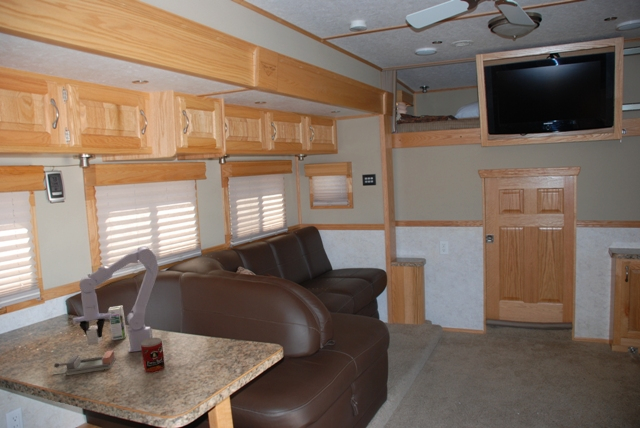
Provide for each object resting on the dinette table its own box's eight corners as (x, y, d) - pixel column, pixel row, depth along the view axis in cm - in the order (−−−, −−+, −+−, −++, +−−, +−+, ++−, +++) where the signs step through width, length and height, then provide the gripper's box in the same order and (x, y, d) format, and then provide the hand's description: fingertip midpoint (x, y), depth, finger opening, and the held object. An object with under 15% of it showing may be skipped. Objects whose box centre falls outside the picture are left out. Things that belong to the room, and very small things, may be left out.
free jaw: (114, 357, 207) (113, 350, 206) (110, 364, 199) (109, 357, 199) (106, 358, 206) (105, 351, 206) (102, 365, 199) (101, 358, 198)
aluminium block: (102, 338, 214) (100, 324, 213) (98, 343, 207) (96, 329, 206) (92, 339, 213) (90, 325, 213) (88, 345, 206) (86, 331, 206)
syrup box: (112, 340, 231) (107, 310, 230) (114, 336, 237) (109, 306, 235) (125, 338, 233) (121, 308, 231) (126, 334, 238) (122, 304, 237)
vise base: (115, 358, 208) (114, 349, 208) (109, 368, 198) (108, 358, 198) (59, 367, 204) (58, 357, 204) (50, 377, 194) (49, 367, 194)
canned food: (146, 374, 189) (142, 346, 188) (142, 367, 196) (139, 340, 195) (166, 369, 193) (163, 341, 191) (163, 362, 200) (159, 336, 198)
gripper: (110, 300, 214) (115, 331, 215) (74, 305, 211) (79, 336, 213) (107, 305, 207) (111, 337, 208) (69, 310, 204) (74, 342, 206)
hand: (94, 337), depth 210 cm, fingers closed on aluminium block, 4 cm apart
